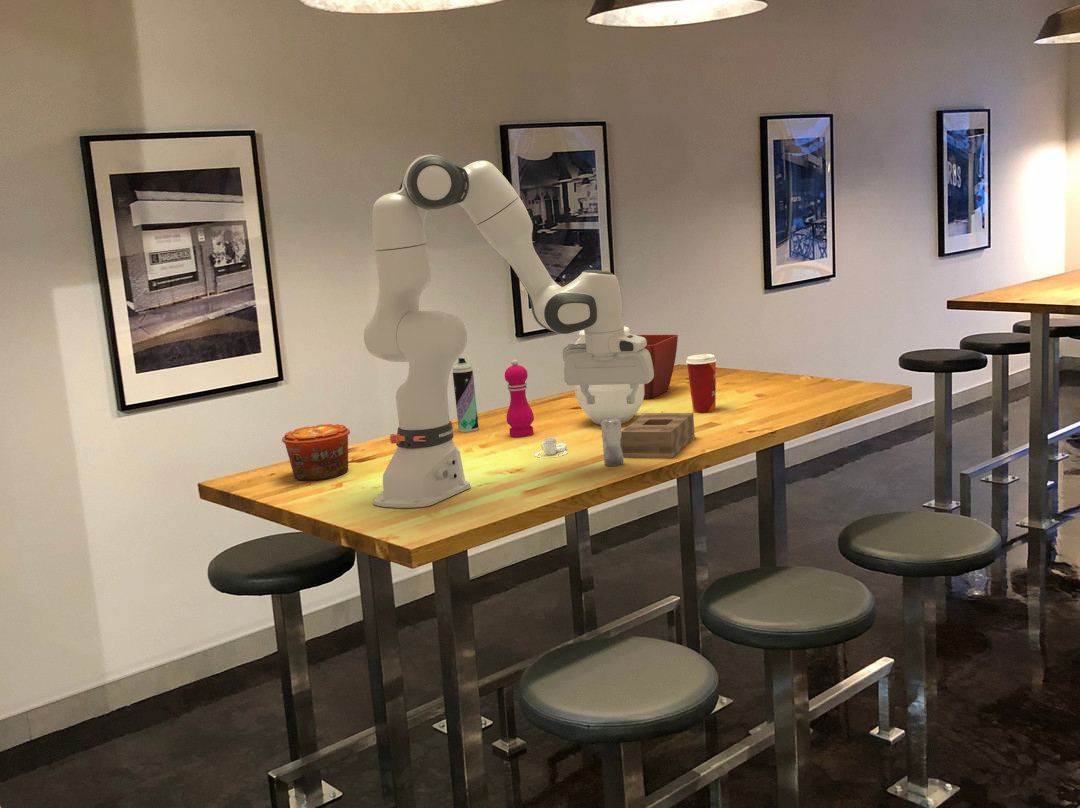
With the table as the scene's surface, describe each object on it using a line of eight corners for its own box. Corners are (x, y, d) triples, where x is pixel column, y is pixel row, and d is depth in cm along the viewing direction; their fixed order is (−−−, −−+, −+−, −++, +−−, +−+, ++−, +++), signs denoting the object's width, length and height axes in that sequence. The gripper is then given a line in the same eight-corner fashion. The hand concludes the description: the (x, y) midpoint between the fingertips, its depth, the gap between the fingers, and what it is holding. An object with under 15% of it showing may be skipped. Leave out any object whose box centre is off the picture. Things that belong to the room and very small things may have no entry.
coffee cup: (725, 410, 284) (722, 355, 281) (698, 415, 281) (695, 359, 278) (709, 406, 292) (706, 352, 289) (683, 410, 289) (679, 356, 286)
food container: (274, 478, 254) (268, 435, 252) (328, 462, 265) (323, 421, 263) (313, 486, 243) (307, 441, 241) (368, 469, 255) (362, 426, 253)
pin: (620, 466, 236) (616, 423, 234) (601, 466, 237) (598, 423, 236) (626, 461, 240) (623, 418, 238) (608, 461, 241) (604, 418, 240)
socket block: (672, 457, 239) (671, 432, 238) (622, 457, 244) (620, 431, 243) (694, 436, 257) (693, 412, 256) (647, 436, 262) (645, 413, 261)
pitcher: (569, 430, 277) (561, 336, 273) (587, 415, 295) (579, 326, 290) (639, 428, 272) (632, 332, 267) (652, 413, 289) (646, 322, 284)
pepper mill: (532, 437, 273) (525, 361, 269) (505, 438, 275) (497, 362, 271) (537, 430, 280) (531, 356, 276) (511, 432, 282) (504, 358, 278)
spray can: (455, 432, 288) (447, 359, 284) (465, 427, 293) (458, 356, 289) (472, 432, 285) (464, 359, 282) (482, 428, 290) (475, 356, 286)
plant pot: (657, 402, 304) (653, 344, 301) (598, 401, 314) (593, 344, 310) (682, 389, 320) (679, 334, 317) (625, 388, 330) (621, 335, 326)
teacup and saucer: (563, 449, 259) (561, 433, 258) (575, 455, 252) (574, 438, 251) (529, 455, 256) (528, 438, 255) (541, 461, 249) (540, 444, 248)
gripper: (556, 347, 234) (562, 407, 237) (644, 343, 226) (650, 406, 229) (566, 341, 240) (572, 401, 243) (653, 338, 232) (658, 399, 235)
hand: (611, 403), depth 236 cm, fingers open, 8 cm apart
